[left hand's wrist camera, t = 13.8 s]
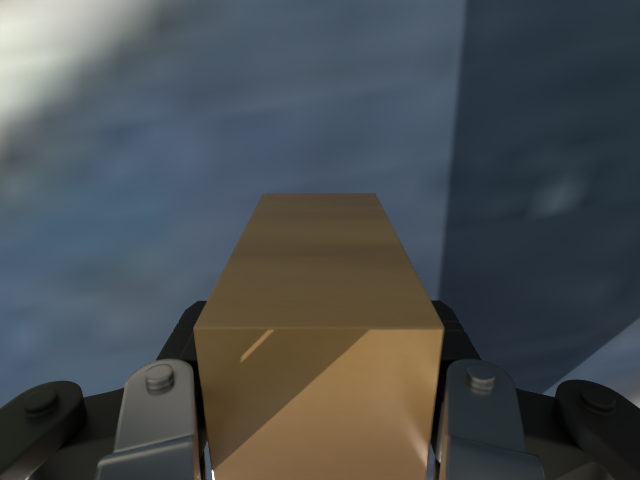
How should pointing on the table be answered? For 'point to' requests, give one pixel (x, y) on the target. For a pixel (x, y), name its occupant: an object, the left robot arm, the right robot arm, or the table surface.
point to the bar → (319, 347)
